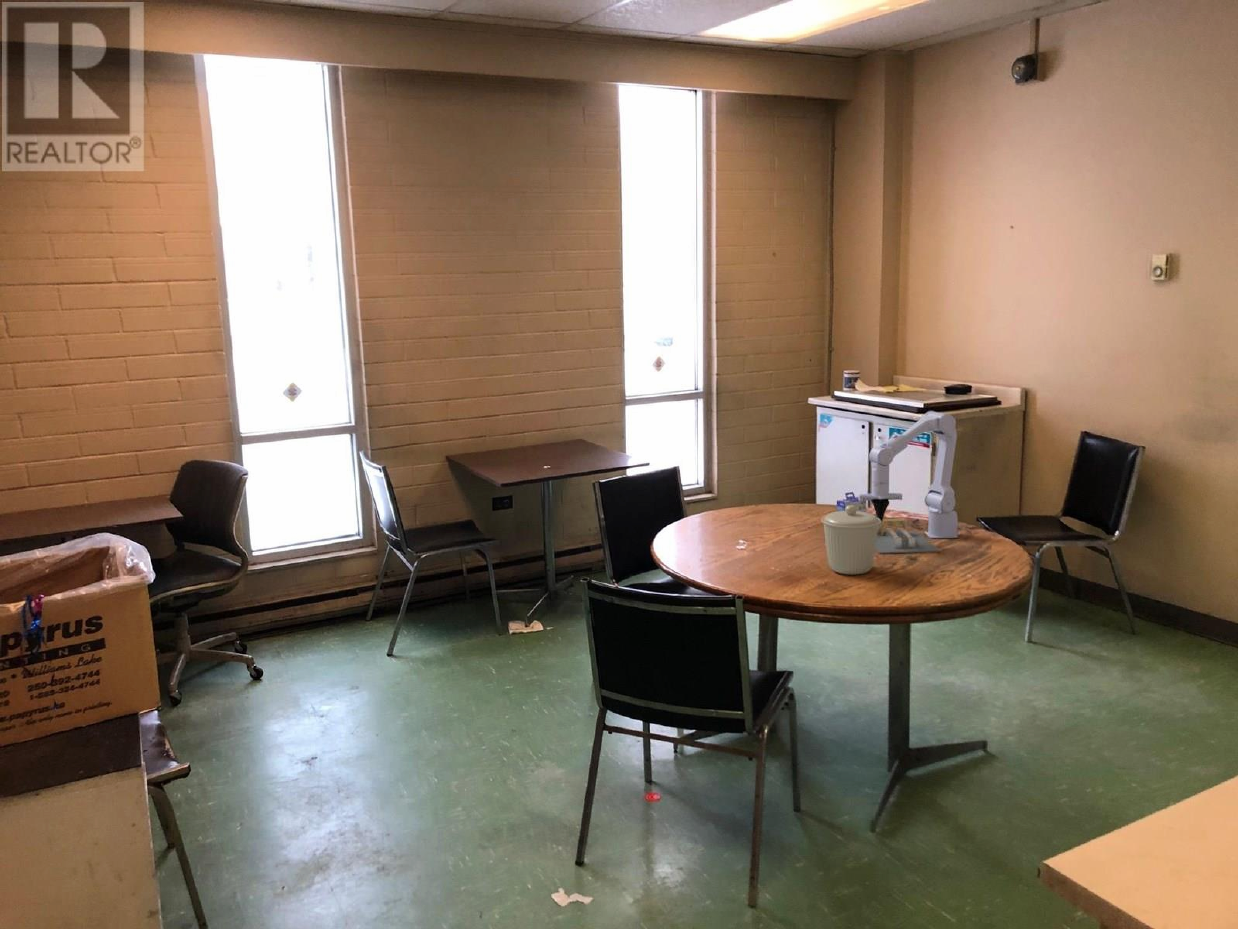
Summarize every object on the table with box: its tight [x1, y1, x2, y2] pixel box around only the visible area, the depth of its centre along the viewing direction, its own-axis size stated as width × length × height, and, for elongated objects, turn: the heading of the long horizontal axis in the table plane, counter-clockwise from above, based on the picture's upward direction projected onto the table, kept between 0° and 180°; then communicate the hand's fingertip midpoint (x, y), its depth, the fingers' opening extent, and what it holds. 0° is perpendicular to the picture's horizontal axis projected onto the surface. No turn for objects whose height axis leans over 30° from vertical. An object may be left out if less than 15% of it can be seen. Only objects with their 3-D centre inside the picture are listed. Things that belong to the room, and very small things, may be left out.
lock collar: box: [878, 518, 906, 535], centre depth 346 cm, size 8×3×5 cm, turn 89°
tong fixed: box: [897, 526, 915, 548], centre depth 336 cm, size 2×16×3 cm, turn 179°
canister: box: [821, 505, 881, 576], centre depth 306 cm, size 18×18×21 cm
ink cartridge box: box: [836, 491, 867, 513], centre depth 352 cm, size 10×6×14 cm, turn 115°
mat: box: [875, 530, 941, 555], centre depth 337 cm, size 20×26×1 cm
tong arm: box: [885, 526, 902, 548], centre depth 336 cm, size 2×16×3 cm, turn 177°
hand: (879, 520), depth 335 cm, fingers closed
